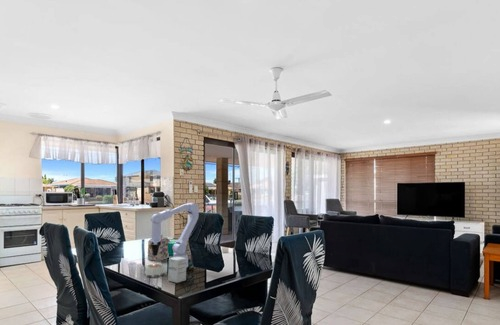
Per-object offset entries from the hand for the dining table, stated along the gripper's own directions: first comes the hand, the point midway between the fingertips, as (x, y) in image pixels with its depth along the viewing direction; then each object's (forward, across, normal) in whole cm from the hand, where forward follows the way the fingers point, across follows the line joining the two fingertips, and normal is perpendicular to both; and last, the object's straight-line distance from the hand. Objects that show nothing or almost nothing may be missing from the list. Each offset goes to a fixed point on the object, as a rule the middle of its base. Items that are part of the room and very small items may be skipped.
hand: (155, 254), depth 201 cm
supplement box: (+11, +25, +13) cm, 30 cm away
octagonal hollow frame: (+10, +8, 0) cm, 13 cm away
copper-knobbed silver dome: (+9, +8, 0) cm, 12 cm away
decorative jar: (+11, -35, +1) cm, 37 cm away
